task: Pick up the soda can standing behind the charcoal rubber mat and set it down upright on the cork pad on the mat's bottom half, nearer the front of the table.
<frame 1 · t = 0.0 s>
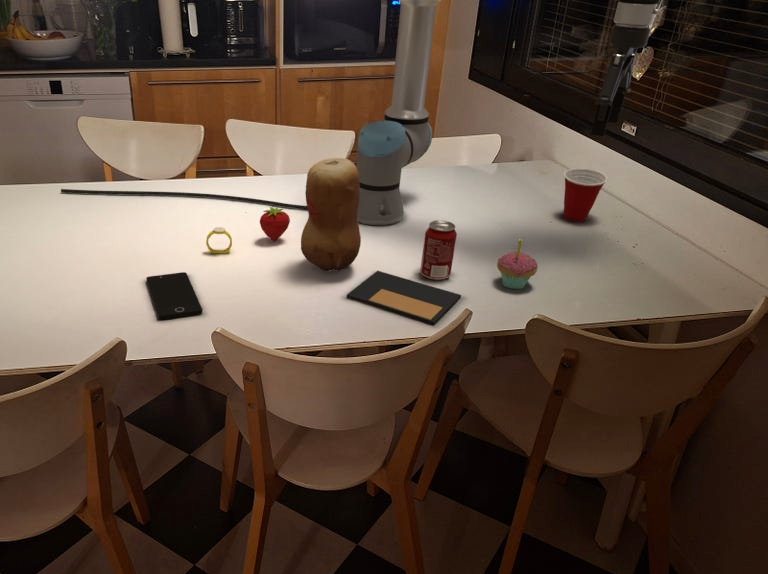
hand: (604, 128, 155), 28 cm above the table, tool pointing down, fingers open, 13 cm apart
mat: (403, 298, 145), on the table
butternut squash: (330, 269, 156), on the table
cell phone: (173, 297, 144), on the table
plastic cup: (574, 218, 184), on the table
cupcake: (512, 284, 151), on the table
strawberry: (274, 242, 169), on the table
soda can: (434, 275, 154), on the table
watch: (219, 253, 163), on the table
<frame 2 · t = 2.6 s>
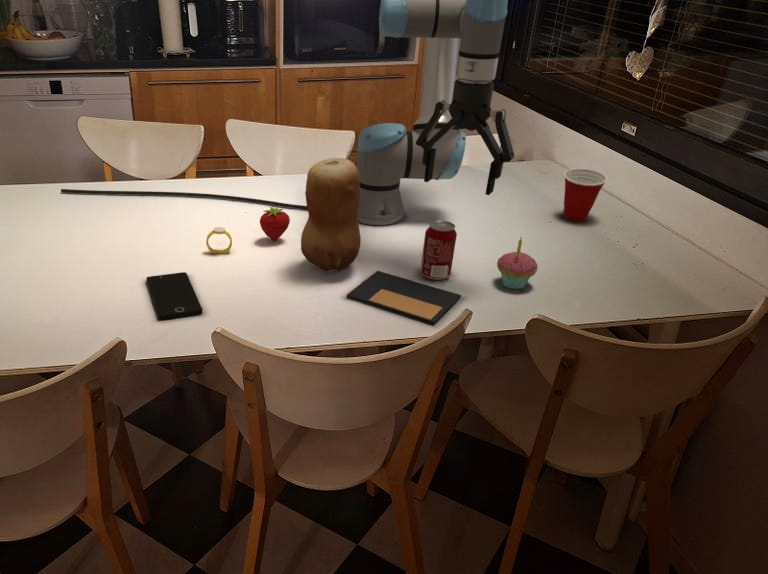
hand: (457, 186, 144), 20 cm above the table, tool pointing down, fingers open, 13 cm apart
nothing on the table moved.
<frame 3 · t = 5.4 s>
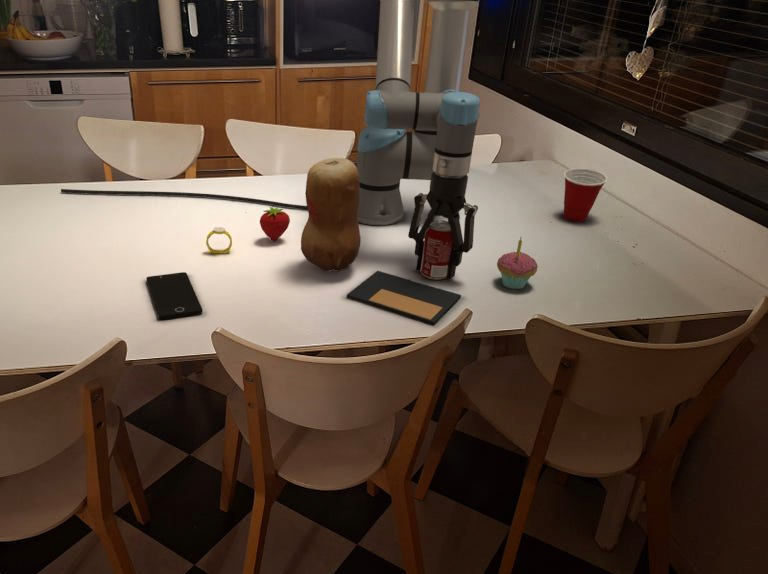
hand: (435, 273, 154), 1 cm above the table, tool pointing down, fingers closed on soda can, 7 cm apart
soda can: (434, 275, 154), on the table, touching gripper
everything else where it was.
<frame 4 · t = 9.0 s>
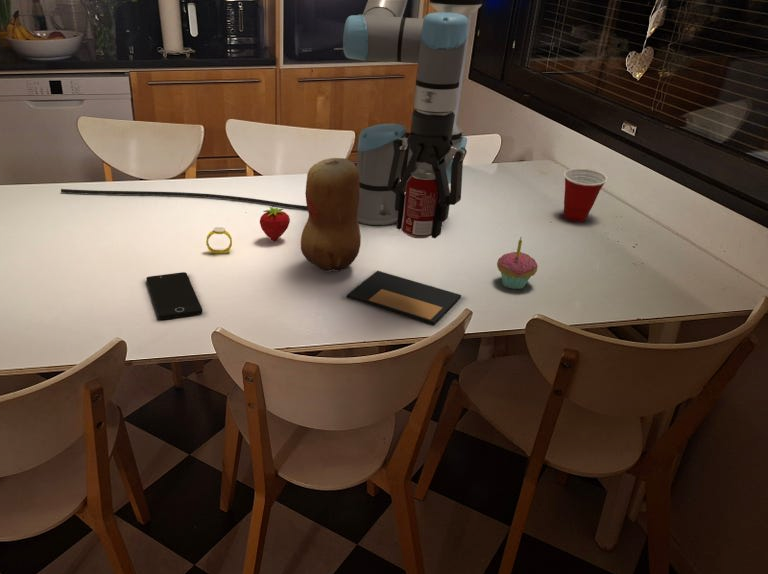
hand: (418, 231, 134), 16 cm above the table, tool pointing down, fingers closed on soda can, 7 cm apart
soda can: (417, 234, 135), point 15 cm above the table, touching gripper
everything else where it was.
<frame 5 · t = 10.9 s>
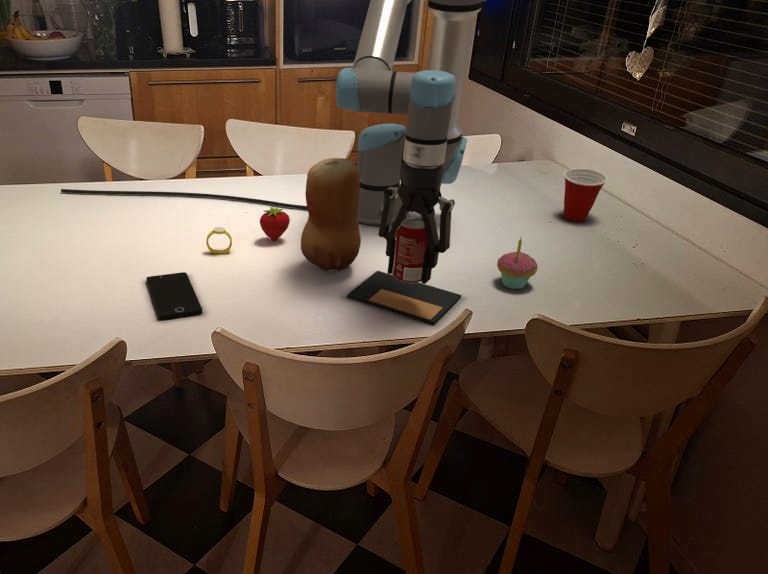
hand: (408, 275, 138), 7 cm above the table, tool pointing down, fingers closed on soda can, 7 cm apart
soda can: (408, 279, 138), point 7 cm above the table, touching gripper
everything else where it was.
when the fingers open (1 cm above the table, at t = 12.6 s): soda can stays where it is, resting on mat.
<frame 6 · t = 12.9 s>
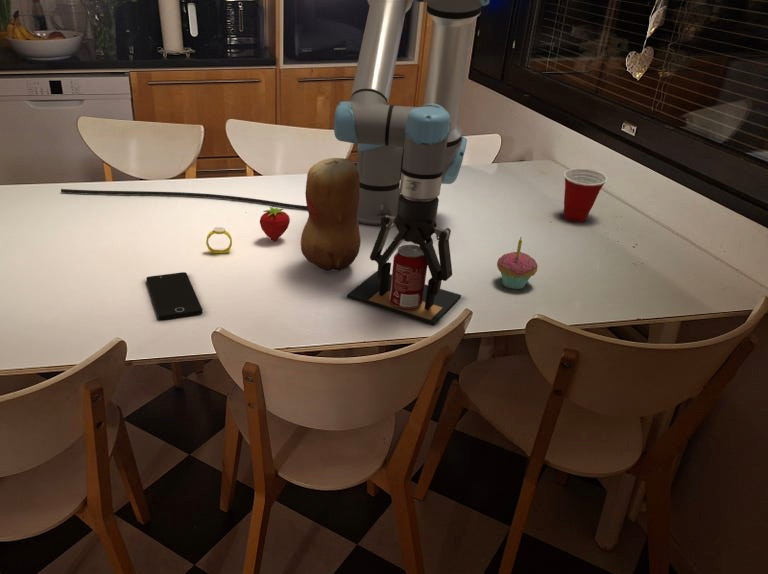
hand: (405, 299, 141), 2 cm above the table, tool pointing down, fingers open, 10 cm apart
soda can: (405, 304, 141), point 1 cm above the table, touching mat
everything else where it was.
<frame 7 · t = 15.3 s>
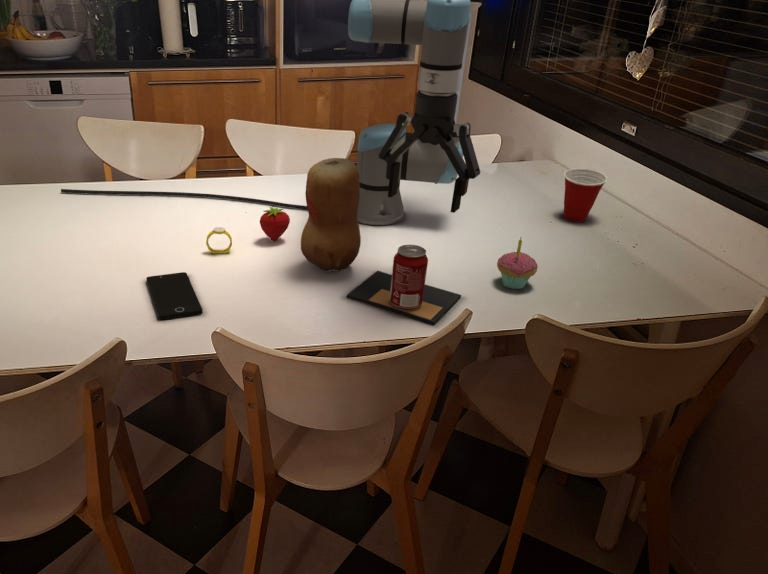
hand: (422, 202, 136), 20 cm above the table, tool pointing down, fingers open, 13 cm apart
nothing on the table moved.
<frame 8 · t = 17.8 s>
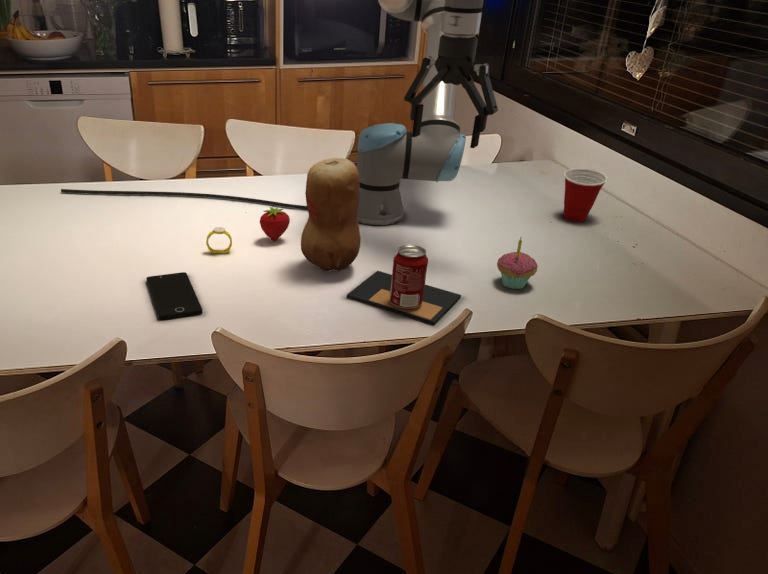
hand: (444, 141, 149), 27 cm above the table, tool pointing down, fingers open, 13 cm apart
nothing on the table moved.
at the end: soda can inside the target area on the mat (0.1 cm from its centre), point 0.7 cm above the mat's base; soda can tilted 0°; the gripper is holding nothing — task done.
